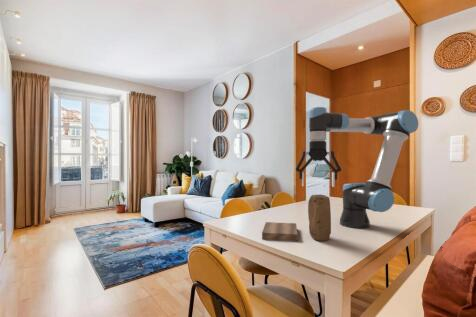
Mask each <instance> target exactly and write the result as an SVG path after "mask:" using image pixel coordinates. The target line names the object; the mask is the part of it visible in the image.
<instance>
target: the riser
mask: <svg viewBox="0 0 476 317" xmlns="http://www.w3.org/2000/svg"><path fill="white" fill-rule="evenodd" d="M297 227H298V226H297V223H294V222H275V221H274V222H270V221H266V222H265V224H264V226H263V229H262V231H261V240H270V241H271V240H274V241H291V242H298V229H297Z"/></svg>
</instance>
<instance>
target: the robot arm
mask: <svg viewBox="0 0 476 317" xmlns="http://www.w3.org/2000/svg"><path fill="white" fill-rule="evenodd" d="M308 113H309V114H308V116H309V117H308V119H309V120H308V121H309V123H308V129H309V135H308V136H309V137H308V138H309V147H308V148H309V150H308V151H302V154H301V155H302V156H301V158H300V160H299V161H298V164H297V166H296V167H295V172H298V173H299V180H301V187H305V172H304V170H305V169H306V168H307V167H308V166H309V165H310V164H311V162H312V161H314V162H317V161H319V162H322V161H324V163H325V164H326V165H327V166H328V168H330V169H331V171H333V172H331V187H332V188H335V187H336V186H335V185H336V184H335V182H336V181H337V180H338V173H339V172H341V171H342V168H341V166H340V164H339V162H338V160H337V158H336V157H335V152H334V150H331V151H327V133H328V132H329V133H331V132H332V133H334V132H335V133H345V132H346V133H363V134H365V135H378V136H383V137H384V138H383V141H382V145H381V148H380V151H379V154H378V157H377V160H376V162H375V166H374V168H373V172H372V174H371V177H370V179H368V180H366V182H358V183H357V182H355V183H344V184H343V186H342V212H341V214H340V218H339V224H340V225H342V226H344V227H347V228H354V229H366V228H367V229H368V228H369V227H370V226H371V224H370V223H371V222H370V219H369V216H368V213H367V210H370V211H372V212H379V213H384V212H386V211H387V212H388V211H389V210H390V209H391V208H392V207H393V205H394V203H395V197H394V196H395V195H394V193H393V191H392V190H393V188H392V185H391V182H392V178H393V176H394V172H395V169H396V166H397V163H398V159H399V156H400V154H401V150H402V147H403V144H404V142H405V141H407V140H409V138H410V134H413V133H415V132H416V131H418V128H419V119H418V116H417V115H416V114H415V112H414V111H412V110H408V109H406V110H399V111H395V112H390V113H384V114H380V115H376V116H366V117H364V118H360V117H359V118H358V117H356V118H354V117H353V118H352V117H351V118H350V117H349V115H348V114H346V113H342V112H340V113H339V112H327V108H326V107H323V106H316V107H315V106H314V107H311V108H310V109H309V112H308ZM307 156H309V159H308V160H307V161H306V162H305V163H304V165H302V164H303V162H304V159H305V157H307ZM327 156H329V157H330V158H331V160H332V162H333V163H334V165H335V166H334V165H333V164H332V163H331V162H330V161H329V160H328V159H327ZM301 166H302V167H301ZM300 167H301V168H300ZM335 180H336V181H335Z"/></svg>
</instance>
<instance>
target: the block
mask: <svg viewBox="0 0 476 317" xmlns="http://www.w3.org/2000/svg"><path fill="white" fill-rule="evenodd" d="M307 202H308V203H307V213H308V214H307V215H308V223H309V224H308V228H309V229H308V230H309V231H308V232H309V235H310V237H311V238H313V239H314V240H316V241H321V242H326V241H328V240H330V239H331V234H332V216H331V215H332V214H331V211H332V210H331V200H330V197H329V196H327V195H325V194H312V195H310V196H309V199H308V201H307Z"/></svg>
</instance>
